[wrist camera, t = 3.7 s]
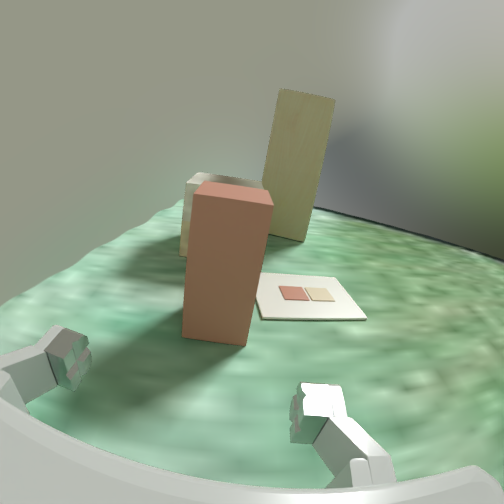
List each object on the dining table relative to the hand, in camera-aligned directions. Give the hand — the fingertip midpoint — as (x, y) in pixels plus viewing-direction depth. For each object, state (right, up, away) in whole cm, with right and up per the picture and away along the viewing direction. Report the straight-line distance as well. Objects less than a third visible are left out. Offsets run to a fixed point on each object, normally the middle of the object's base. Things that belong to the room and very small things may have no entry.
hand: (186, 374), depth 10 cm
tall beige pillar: (+7, +8, +37) cm, 38 cm away
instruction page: (+7, 0, +18) cm, 20 cm away
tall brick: (0, -1, +12) cm, 12 cm away
